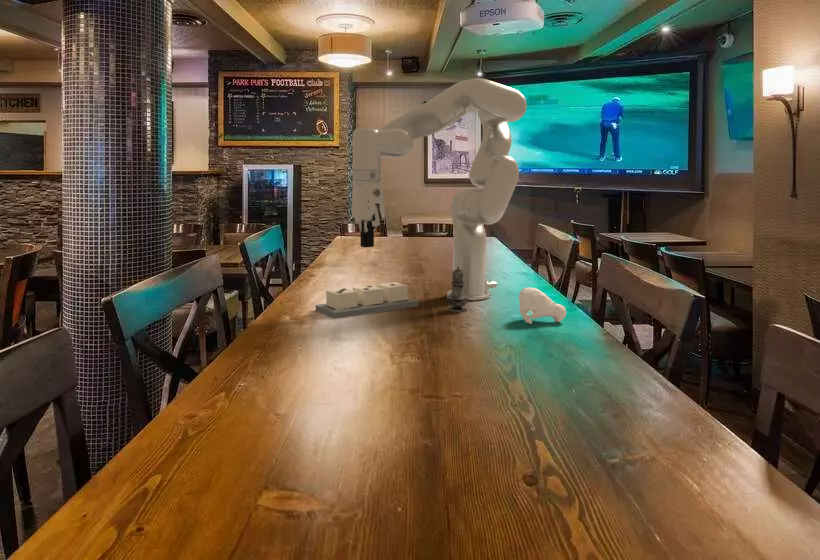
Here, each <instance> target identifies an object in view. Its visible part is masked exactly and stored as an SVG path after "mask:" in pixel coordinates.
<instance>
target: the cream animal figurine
mask: <svg viewBox="0 0 820 560" xmlns="http://www.w3.org/2000/svg"><path fill="white" fill-rule="evenodd" d="M518 302H519V307H518V308H519V313H520V316H521V317H522V318H523V320H524V321H525V323H526V324H528V323H529V324H528V325H532V324H533V320H534V319H538V318H546V317H551V318H552V319H553V321H557V323H558V322H560V321H561V322H562V321H563V319H565V318H566V316H567V310H566V307H565V306H563V305H562V304H559V303H556V302H555V301H553V300H552V299H551V298H550V297H549V296H548V295H547V294H546V293H544V292H543V291H541V290H540V289H538V288H535V287H524V288H522V289H521V290H520V293H519V295H518ZM528 312H529V313H530V314H531V315H530V314H529V313H528ZM532 319H533V320H532ZM561 322H560V323H561Z"/></svg>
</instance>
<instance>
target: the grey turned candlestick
mask: <svg viewBox="0 0 820 560" xmlns="http://www.w3.org/2000/svg"><path fill="white" fill-rule="evenodd" d="M450 284H451V290H452V293H451V295H449V296H446V299H447V303H448V305H450V307H448V308H447V311H448V312H451V313H465V312H467V311H468V309H467V308H466V307H465V305H466V304H467V303H468V300H467V299H468V297H467V296H465V295H464V292H463V285H464V284H465V283H464V282H463V271H462V270H460V269H459V267H457V269H456V270H454V271H453V270H452V282H450Z"/></svg>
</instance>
